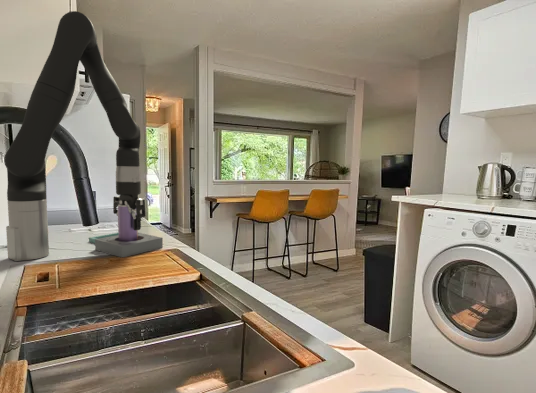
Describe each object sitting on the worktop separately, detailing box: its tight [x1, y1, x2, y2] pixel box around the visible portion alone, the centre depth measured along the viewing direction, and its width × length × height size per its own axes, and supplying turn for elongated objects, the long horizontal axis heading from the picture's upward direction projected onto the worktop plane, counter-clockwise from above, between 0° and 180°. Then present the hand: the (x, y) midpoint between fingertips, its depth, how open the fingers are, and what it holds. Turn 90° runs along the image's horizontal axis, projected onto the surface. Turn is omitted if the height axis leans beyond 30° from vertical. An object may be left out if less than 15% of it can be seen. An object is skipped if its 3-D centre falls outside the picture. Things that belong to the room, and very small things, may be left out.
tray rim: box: [88, 232, 118, 244], centre depth 116 cm, size 12×12×2 cm
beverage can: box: [117, 205, 139, 242], centre depth 106 cm, size 6×6×15 cm
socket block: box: [94, 232, 164, 258], centre depth 106 cm, size 15×15×4 cm
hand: (129, 228), depth 105 cm, fingers open, 8 cm apart
